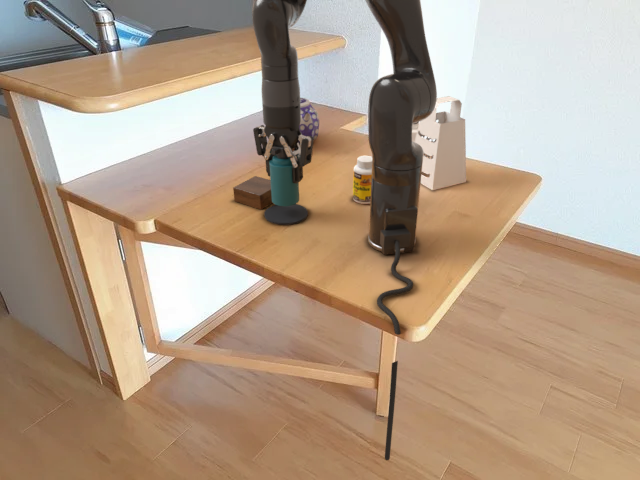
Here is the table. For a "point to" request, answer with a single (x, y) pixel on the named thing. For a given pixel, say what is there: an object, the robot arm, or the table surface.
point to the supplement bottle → (362, 180)
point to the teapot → (308, 119)
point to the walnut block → (254, 192)
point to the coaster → (286, 214)
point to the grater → (443, 146)
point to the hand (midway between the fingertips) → (284, 178)
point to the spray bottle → (282, 179)
